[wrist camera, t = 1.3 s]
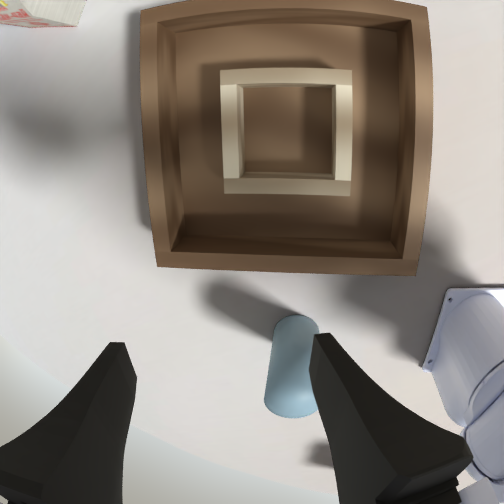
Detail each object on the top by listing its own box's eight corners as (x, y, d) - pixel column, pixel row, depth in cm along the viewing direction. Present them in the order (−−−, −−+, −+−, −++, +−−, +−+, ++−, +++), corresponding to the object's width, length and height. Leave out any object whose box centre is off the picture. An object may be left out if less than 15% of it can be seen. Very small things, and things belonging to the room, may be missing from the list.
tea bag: (41, -6, 18) (-31, -22, 9) (90, -10, 18) (14, -39, 9) (30, 27, 20) (-47, 19, 10) (77, 26, 20) (-6, 9, 10)
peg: (317, 351, 29) (318, 418, 21) (273, 349, 29) (263, 416, 22) (321, 315, 27) (325, 382, 20) (274, 313, 28) (264, 380, 20)
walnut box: (400, 252, 24) (415, 275, 20) (176, 245, 26) (157, 266, 23) (408, 22, 17) (426, 7, 13) (163, 24, 19) (140, 10, 16)
